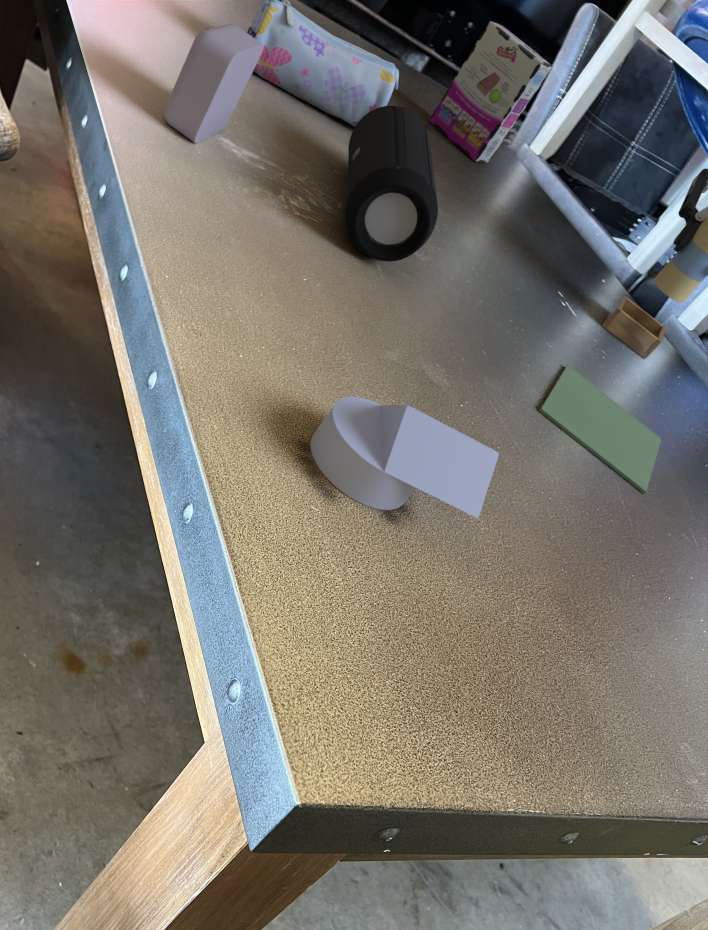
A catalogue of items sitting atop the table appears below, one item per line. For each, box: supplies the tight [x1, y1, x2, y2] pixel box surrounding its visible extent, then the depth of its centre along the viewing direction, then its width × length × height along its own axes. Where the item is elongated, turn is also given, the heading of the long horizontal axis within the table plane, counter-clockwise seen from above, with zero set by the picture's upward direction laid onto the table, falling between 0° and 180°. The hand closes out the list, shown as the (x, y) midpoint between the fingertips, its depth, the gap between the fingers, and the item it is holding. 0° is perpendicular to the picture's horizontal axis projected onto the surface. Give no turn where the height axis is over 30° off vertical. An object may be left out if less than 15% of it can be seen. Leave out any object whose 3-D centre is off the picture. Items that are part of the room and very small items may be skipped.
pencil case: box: [246, 0, 400, 128], centre depth 128 cm, size 21×9×10 cm, turn 88°
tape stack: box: [652, 217, 708, 304], centre depth 126 cm, size 5×5×10 cm
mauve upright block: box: [163, 23, 263, 144], centre depth 102 cm, size 10×5×10 cm, turn 159°
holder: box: [601, 295, 667, 360], centre depth 133 cm, size 7×7×3 cm
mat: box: [538, 364, 662, 495], centre depth 107 cm, size 14×16×1 cm
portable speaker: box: [343, 105, 439, 263], centre depth 110 cm, size 26×10×10 cm, turn 175°
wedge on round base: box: [309, 396, 500, 519], centre depth 75 cm, size 9×7×13 cm
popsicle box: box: [428, 20, 554, 164], centre depth 151 cm, size 11×5×16 cm, turn 47°
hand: (696, 261), depth 124 cm, fingers closed on tape stack, 5 cm apart
